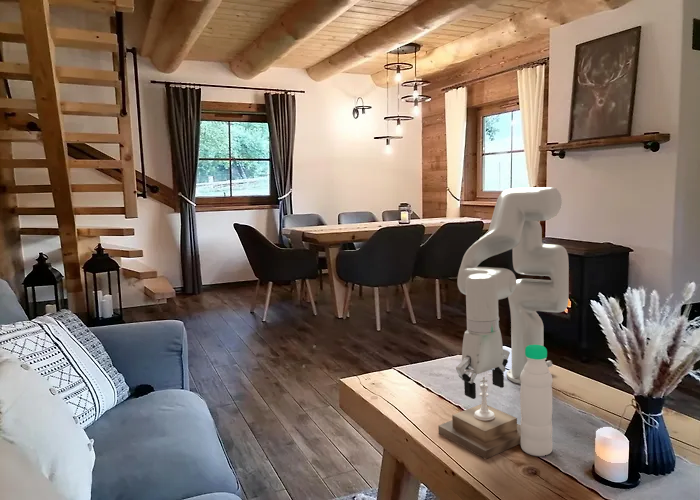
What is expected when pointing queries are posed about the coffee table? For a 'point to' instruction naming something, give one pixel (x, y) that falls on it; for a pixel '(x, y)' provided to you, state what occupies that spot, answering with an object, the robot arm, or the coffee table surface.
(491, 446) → the plinth
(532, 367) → the water bottle
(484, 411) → the chess piece
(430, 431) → the coffee table surface
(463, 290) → the robot arm
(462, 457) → the coffee table surface
